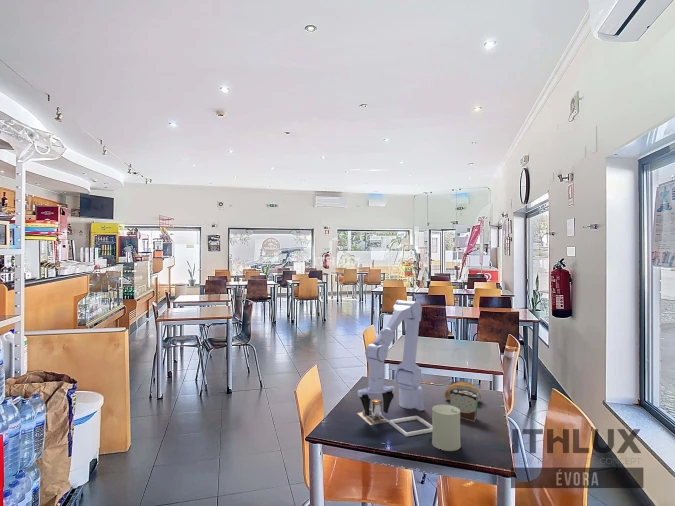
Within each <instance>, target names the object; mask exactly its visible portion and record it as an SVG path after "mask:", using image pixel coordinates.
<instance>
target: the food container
mask: <svg viewBox="0 0 675 506" xmlns="http://www.w3.org/2000/svg"><path fill="white" fill-rule="evenodd" d="M448 394H450V400H449V403H450V405H451V406H455V407H457V408H459V409H460V419H463V420H466V421H469V422H474V423H476V421H477V413H478V403H479V402H480V401H481V400H480V398H479V395H478V393H477V392H476V391H474V390H471V389H467V388H452V389H449V392H448Z"/></svg>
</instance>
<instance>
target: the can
mask: <svg viewBox="0 0 675 506" xmlns="http://www.w3.org/2000/svg"><path fill="white" fill-rule="evenodd" d="M431 417H432V423H431V425H432V432H431V434H432V436H431V444H432V446H433V447H434V448H436V449H437V450H440V449H441V450H440V451H443V452H444V451H445V452H455V451H459V449H460V448H461V447H462V444H461V418H460V409H459V408H457V407H455V406H451V404H436V405H433V406H432V407H431Z"/></svg>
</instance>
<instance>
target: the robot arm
mask: <svg viewBox="0 0 675 506" xmlns="http://www.w3.org/2000/svg"><path fill="white" fill-rule="evenodd" d="M392 310H393V313H392V315H391V317H390V319H389V321H388V322H387V325H386V327H385V328H384V327H383V328H382V329H381V330H380V331H379V332H378V334H377V336H376V337H375V339H374V340H373V342H372V343H370V344H368V345H367V347H366V349H365V352H364V354H365V357H366V360H367V364H368V387H365V388H362V389H357V396H358V397H359V399H360V401H361V403H362V406H363V410H364V411H365V415H366V416H369V409H370V404H371V401H372V400H371V398H370V396H372V395H382V403H383V404H382V406H383V407H382V408H383V409H382V410H383V411H382V412H384V413H385V414H388V413H389V409H390V405H391V403H392V400H393V399H394V397H395V396H394V395H395V394H394V393H396V388H395V386H393V385H385V360H386V359H387V357H388V354H389V349H390V348H389V347H390V346H391V344H392V343H393V340H394V339H395V334H394V333H395V331H396V330H397V329H398V327H399V326H400V325H401V323H403V321H404V323H405V332H404V333H405V335H404V342H403V343H404V344H403V345H404V346H403V352H402V353H403V354H402V361H401V362H400V363H399V364H398V365H397V366H396V372H395V374H394V381H395V383H396V384H397V387H398V388H399V389H398V392H399V393H398V395H399V396H398V398H399V400H398V401H399V405H398V406H400V408H403V409H416V410H417V411H425V405H424V403H425V400H424V399H425V397H424V396H425V395H424V393H425V392H424V389H423V388H422V386H421V384H422V381H423V379H422V378H423V377H422V369H421V367H420V366H419V365H418V364H417V363H416V361H417V353H418V352H417V349H418V342H419V341H418V339H419V327H420V322H421V321H422V311H423V307H422V305H421V303H420V302H419V301H418V300H415V301H413V300H401V299H397V300H396V301H395V302H394V305H393V306H392Z"/></svg>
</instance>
